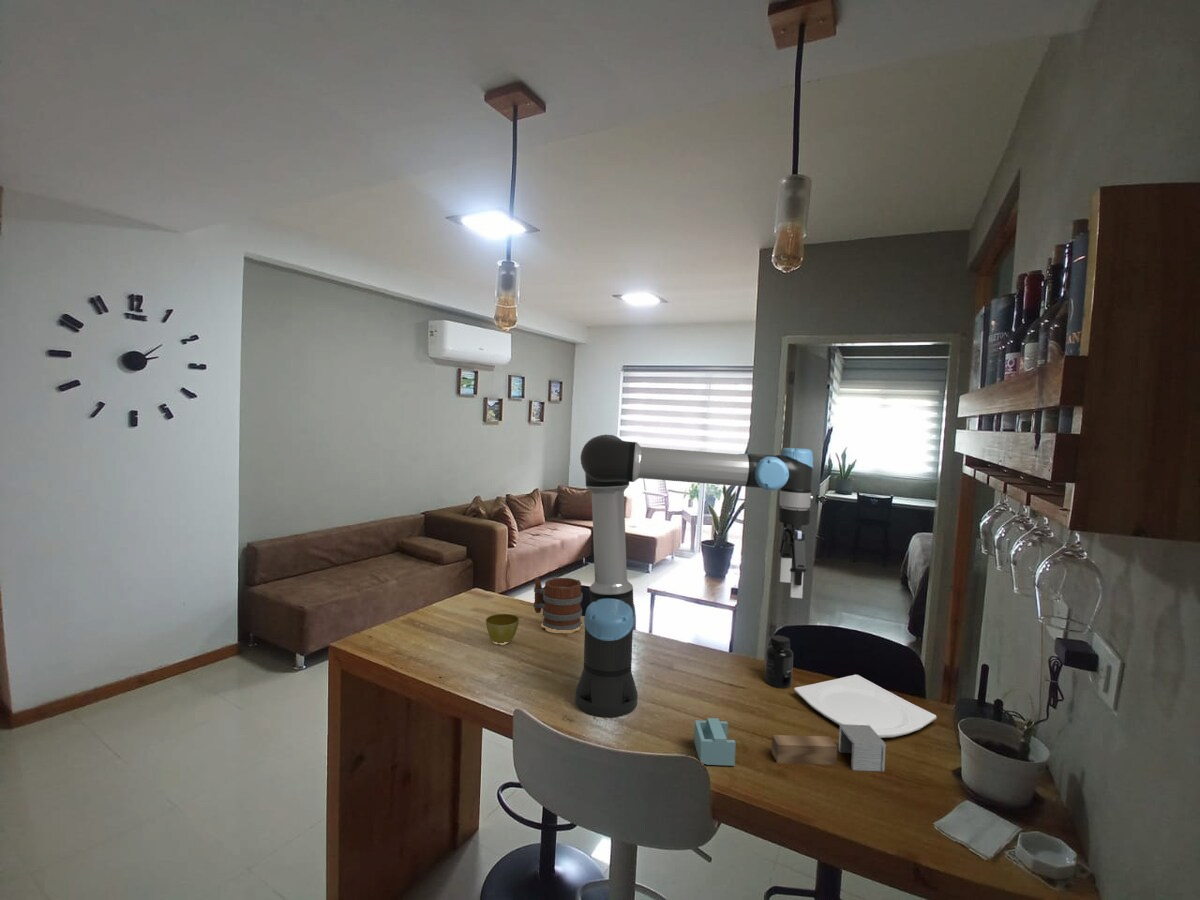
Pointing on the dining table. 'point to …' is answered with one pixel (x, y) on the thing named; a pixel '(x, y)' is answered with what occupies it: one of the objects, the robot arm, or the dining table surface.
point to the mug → (559, 603)
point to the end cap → (862, 747)
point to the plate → (865, 706)
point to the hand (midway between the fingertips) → (790, 589)
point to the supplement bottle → (779, 662)
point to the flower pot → (502, 627)
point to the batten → (804, 749)
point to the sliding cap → (714, 742)
